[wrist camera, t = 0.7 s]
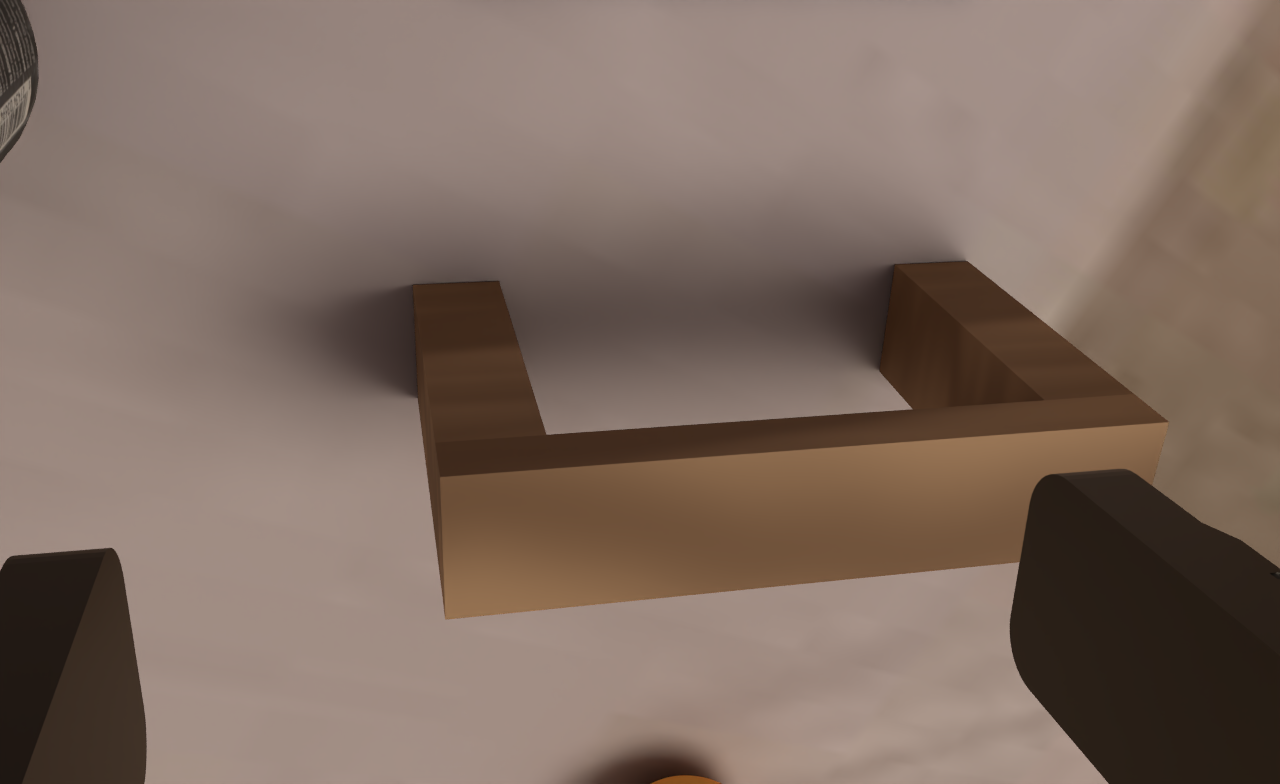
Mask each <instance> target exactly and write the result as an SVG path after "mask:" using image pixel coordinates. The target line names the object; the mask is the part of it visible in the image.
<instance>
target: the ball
mask: <svg viewBox="0 0 1280 784" xmlns="http://www.w3.org/2000/svg"><path fill="white" fill-rule="evenodd" d="M651 784H721V783H719V782H716V781H714V780H711V779H708V778H705V777H699V776H691V775H680V776H672V777H667V778H664V779H660V780H658V781H655V782H653V783H651Z"/></svg>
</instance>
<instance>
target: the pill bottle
mask: <svg viewBox="0 0 1280 784" xmlns="http://www.w3.org/2000/svg"><path fill="white" fill-rule="evenodd" d="M38 79H39V78H38V55H37V47H36V43H35V39H34V34H33V30H32V27H31V24H30V22H29V19H28V16H27V14H26V11H25V8H24V6H23V4H22V2H21V0H0V162H1V161H2V160H3V159H4V157H5V156H6V155H7V153H8V152H9V151H10V150H11V149H12V148H13V146H14V145H15V143H16V142H17V141H18V139H19V138H20V136H21V134H22V132H23V130H24V128H25V126H26V124H27V121H28V119H29V117H30V114H31V111H32V108H33V105H34V103H35V99H36V93H37V87H38Z"/></svg>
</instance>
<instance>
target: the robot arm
mask: <svg viewBox="0 0 1280 784" xmlns="http://www.w3.org/2000/svg"><path fill="white" fill-rule="evenodd" d="M1010 641H1011V648H1012V653H1013V657H1014V661H1015V663H1016V666H1017V669H1018V671H1019V674H1020V676H1021V678H1022V680H1023V681H1024V683H1025V685H1026V686H1027V687H1028V689H1029V690H1030V691H1031V692H1032V694H1033V695H1034V696H1035V697H1036V698H1037V699H1038V701H1039V702H1040V703H1041V704H1042V705H1043V707H1044V708H1045V709H1046V710H1047V711H1048V712H1049V714H1050V715H1051V716H1052V717H1053V718H1054V719H1055V721H1056V722H1057V723H1058V724H1059V725H1060V727H1061V728H1062V729H1063V730H1064V731H1065V732H1066V734H1067V735H1068V736H1069V737H1070V738H1071V739H1072V741H1073V742H1074V743H1075V744H1076V745H1077V747H1078V748H1079V749H1080V750H1081V751H1082V752H1083V754H1084V755H1085V756H1086V757H1087V758H1088V760H1089V761H1090V762H1091V763H1092V764H1093V765H1094V767H1095V768H1096V769H1097V770H1098V771H1099V772H1100V774H1101V775H1102V776H1103V777H1104V778H1105V780H1106V781H1107V782H1108V783H1109V784H1280V569H1279V568H1278V567H1277V566H1275V565H1274V564H1273V563H1271V562H1270V561H1269V560H1267V559H1266V558H1264V557H1263V556H1262V555H1260V554H1259V553H1258V552H1256V551H1255V550H1254V549H1252V548H1251V547H1249V546H1248V545H1247V544H1245V543H1244V542H1243V541H1241V540H1239V539H1237V538H1235V537H1233V536H1230V535H1228V534H1226V533H1224V532H1221V531H1219V530H1217V529H1215V528H1212V527H1210V526H1208V525H1206V524H1203V523H1201V522H1200V521H1199V520H1197V519H1196V518H1195V517H1193V516H1192V515H1191V514H1189V513H1188V512H1187V511H1185V510H1184V509H1183V508H1181V507H1180V506H1179V505H1177V504H1176V503H1175V502H1173V501H1172V500H1170V499H1169V498H1168V497H1166V496H1165V495H1164V494H1162V493H1161V492H1160V491H1158V490H1157V489H1156V488H1154V487H1153V486H1152V485H1150V484H1149V483H1148V482H1146V481H1145V480H1144V479H1142V478H1141V477H1140V476H1138V475H1137V474H1135V473H1134V472H1132V471H1130V470H1127V469H1109V470H1096V471H1084V472H1071V473H1059V474H1050V475H1046V476H1045V477H1043V478H1042V479H1041V480H1040V481H1039V482H1038V483H1037V485H1036V486H1035V488H1034V490H1033V493H1032V495H1031V499H1030V504H1029V509H1028V515H1027V521H1026V527H1025V533H1024V539H1023V545H1022V551H1021V557H1020V563H1019V569H1018V575H1017V581H1016V587H1015V593H1014V599H1013V605H1012V611H1011V618H1010ZM146 748H147V746H146V722H145V713H144V705H143V699H142V692H141V686H140V679H139V673H138V667H137V660H136V654H135V647H134V641H133V634H132V628H131V622H130V615H129V609H128V602H127V596H126V589H125V583H124V577H123V572H122V567H121V563H120V560H119V557H118V555H117V553H116V552H115V550H114V549H112V548H104V549H91V550H79V551H67V552H54V553H42V554H29V555H17V556H11V557H9V558H8V559H7V560H6V562H5V563H4V565H3V567H2V569H1V571H0V784H144V782H145V772H146Z"/></svg>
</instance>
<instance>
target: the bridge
mask: <svg viewBox="0 0 1280 784" xmlns="http://www.w3.org/2000/svg"><path fill="white" fill-rule="evenodd" d="M413 302H414V324H415V345H416V367H417V388H418V404H419V412H420V420H421V428H422V436H423V444H424V452H425V460H426V468H427V476H428V484H429V492H430V500H431V508H432V516H433V524H434V532H435V540H436V548H437V556H438V564H439V572H440V580H441V588H442V596H443V604H444V612H445V619H455V618H465V617H475V616H485V615H495V614H505V613H515V612H525V611H535V610H545V609H555V608H565V607H575V606H585V605H595V604H605V603H615V602H625V601H635V600H645V599H655V598H665V597H675V596H685V595H695V594H705V593H715V592H725V591H735V590H745V589H755V588H765V587H775V586H785V585H795V584H805V583H815V582H825V581H835V580H845V579H855V578H865V577H875V576H885V575H895V574H905V573H915V572H925V571H935V570H945V569H955V568H965V567H975V566H985V565H995V564H1005V563H1015V562H1020V557H1021V551H1022V545H1023V539H1024V533H1025V527H1026V521H1027V515H1028V509H1029V504H1030V499H1031V495H1032V493H1033V490H1034V488H1035V486H1036V485H1037V483H1038V482H1039V481H1040V480H1041V479H1042V478H1043V477H1045V476H1046V475H1050V474H1059V473H1071V472H1084V471H1096V470H1109V469H1127V470H1130V471H1132V472H1134V473H1135V474H1137V475H1138V476H1140V477H1141V478H1142V479H1144V480H1145V481H1146V482H1148V483H1149V484H1150V485H1152V483H1153V480H1154V476H1155V472H1156V469H1157V465H1158V461H1159V458H1160V454H1161V450H1162V447H1163V443H1164V439H1165V436H1166V432H1167V428H1168V425H1169V422H1168V421H1167V420H1166V419H1165V418H1163V417H1162V416H1161V415H1160V414H1158V413H1157V412H1156V411H1155V410H1153V409H1152V408H1151V407H1150V406H1148V405H1147V404H1146V403H1145V402H1143V401H1142V400H1141V399H1140V398H1138V397H1137V396H1136V395H1135V394H1133V393H1132V392H1131V391H1129V390H1128V389H1127V388H1126V387H1124V386H1123V385H1122V384H1121V383H1119V382H1118V381H1117V380H1116V379H1114V378H1113V377H1112V376H1111V375H1109V374H1108V373H1107V372H1106V371H1104V370H1103V369H1102V368H1101V367H1099V366H1098V365H1097V364H1096V363H1094V362H1093V361H1092V360H1091V359H1089V358H1088V357H1087V356H1086V355H1084V354H1083V353H1082V352H1081V351H1079V350H1078V349H1077V348H1076V347H1074V346H1073V345H1072V344H1071V343H1069V342H1068V341H1067V340H1066V339H1064V338H1063V337H1062V336H1061V335H1059V334H1058V333H1057V332H1056V331H1054V330H1053V329H1052V328H1051V327H1049V326H1048V325H1047V324H1046V323H1044V322H1043V321H1042V320H1041V319H1039V318H1038V317H1037V316H1035V315H1034V314H1033V313H1032V312H1030V311H1029V310H1028V309H1027V308H1025V307H1024V306H1023V305H1022V304H1020V303H1019V302H1018V301H1017V300H1015V299H1014V298H1013V297H1012V296H1010V295H1009V294H1008V293H1007V292H1005V291H1004V290H1003V289H1002V288H1000V287H999V286H998V285H997V284H995V283H994V282H993V281H992V280H990V279H989V278H988V277H987V276H985V275H984V274H983V273H982V272H980V271H979V270H978V269H977V268H975V267H974V266H973V265H972V264H970V263H969V262H968V261H966V262H942V263H919V264H895V268H894V275H893V281H892V288H891V295H890V302H889V309H888V316H887V322H886V329H885V336H884V343H883V350H882V357H881V364H880V370H879V371H880V372H881V374H882V375H883V376H884V377H885V378H886V379H887V380H888V381H889V383H890V384H891V385H892V386H893V387H894V388H895V389H896V391H897V392H898V393H899V394H900V395H901V396H902V397H903V398H904V400H905V401H906V402H907V403H908V404H909V405H910V406H911V407H912V409H913V410H898V411H884V412H869V413H855V414H841V415H826V416H812V417H798V418H783V419H769V420H754V421H740V422H726V423H711V424H697V425H682V426H668V427H654V428H639V429H625V430H610V431H596V432H582V433H567V434H553V435H546V432H545V429H544V426H543V422H542V419H541V416H540V413H539V409H538V406H537V403H536V400H535V396H534V393H533V390H532V387H531V383H530V380H529V377H528V374H527V370H526V367H525V364H524V361H523V357H522V354H521V351H520V348H519V344H518V341H517V338H516V335H515V331H514V328H513V325H512V322H511V319H510V315H509V312H508V309H507V306H506V302H505V299H504V296H503V293H502V289H501V286H500V283H499V281H493V282H469V283H445V284H422V285H413Z"/></svg>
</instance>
